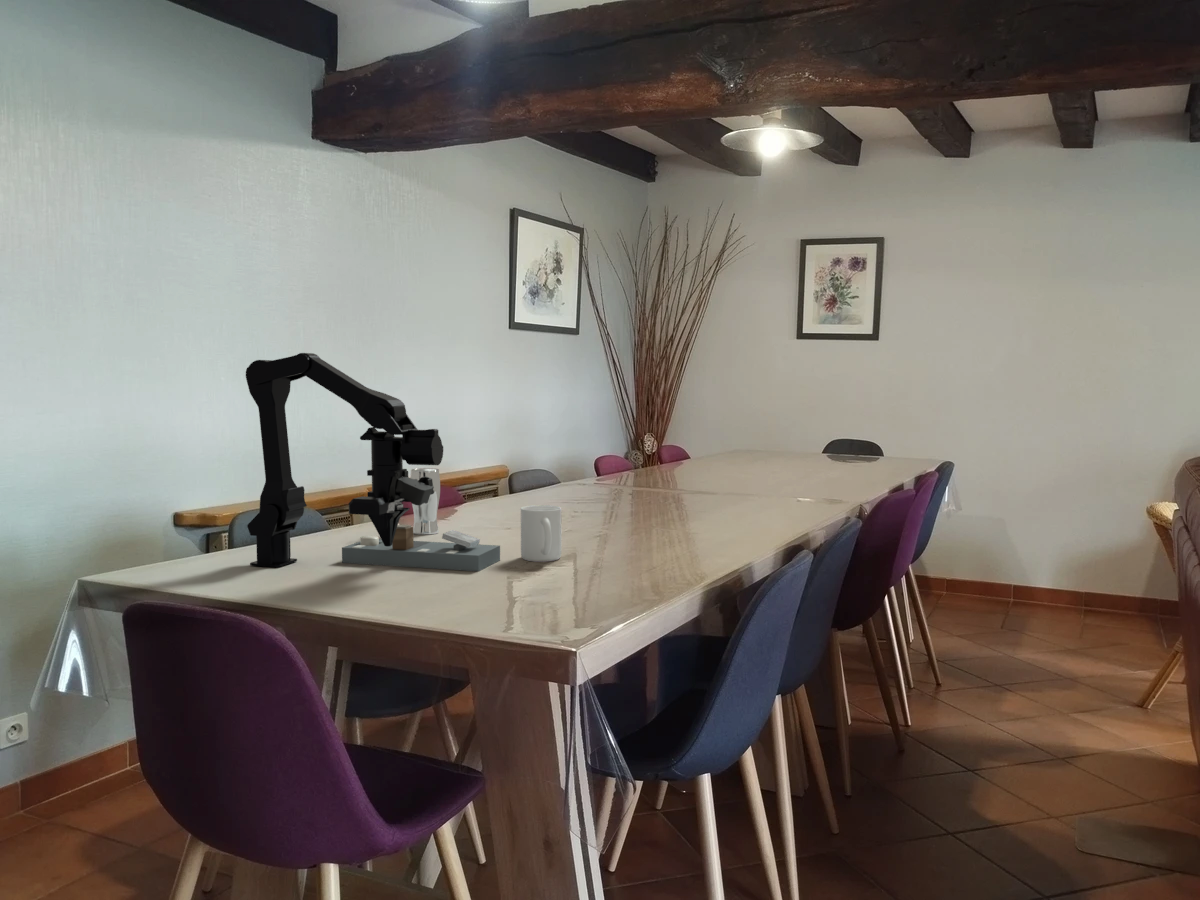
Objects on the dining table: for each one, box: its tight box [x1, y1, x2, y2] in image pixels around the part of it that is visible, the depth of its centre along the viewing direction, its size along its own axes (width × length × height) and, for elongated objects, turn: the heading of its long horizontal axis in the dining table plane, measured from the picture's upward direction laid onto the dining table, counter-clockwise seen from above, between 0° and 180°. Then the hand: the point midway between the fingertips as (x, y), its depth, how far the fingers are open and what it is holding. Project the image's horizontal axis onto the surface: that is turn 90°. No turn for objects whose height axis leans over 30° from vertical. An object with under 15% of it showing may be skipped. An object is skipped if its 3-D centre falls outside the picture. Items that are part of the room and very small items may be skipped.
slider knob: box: [392, 524, 414, 550], centre depth 180 cm, size 3×3×4 cm
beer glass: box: [410, 467, 441, 536], centre depth 216 cm, size 7×7×15 cm
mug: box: [520, 504, 563, 563], centre depth 185 cm, size 12×8×10 cm
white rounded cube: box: [359, 535, 380, 546], centre depth 186 cm, size 4×4×4 cm
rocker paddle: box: [441, 529, 481, 548], centre depth 180 cm, size 5×6×1 cm
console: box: [341, 538, 501, 572], centre depth 183 cm, size 11×29×4 cm, turn 75°
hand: (388, 546), depth 175 cm, fingers closed
